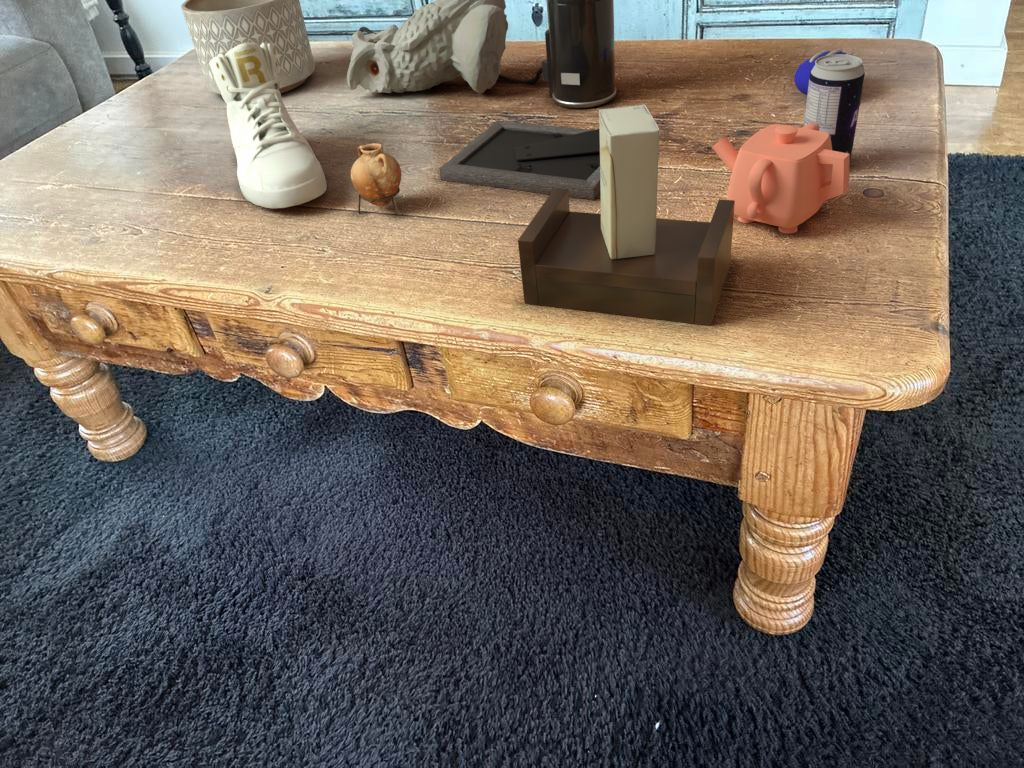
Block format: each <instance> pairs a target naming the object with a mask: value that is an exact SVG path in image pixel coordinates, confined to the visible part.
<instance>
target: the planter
mask: <svg viewBox="0 0 1024 768" xmlns="http://www.w3.org/2000/svg"><path fill="white" fill-rule="evenodd" d="M180 8H181V10H182V14H183V17H184V20H185V23H186V27H187V29H188V33H189V35H190V37H191V42H192V43H193V48H194V50H195V53H196V56H197V57H196V58H197V60H198V63H199V66H200V69H201V72H202V76H203V78H204V81H205V85H206V87H207V89H208V90H209V91H210V92H211V93H213V94H217V95H221V92H220V90H219V88H218V86H217V84H216V81H215V78H214V74H213V72H212V70H211V67H210V64H209V62H210V60H211V59H213V58H214V57H215V56H217V55H218V54H220V53H222V52H225V51H229V50H230V49H232V48H234V47H236V46H238V45H239V44H244V43H245V42H246V43H248V42H249V43H257V44H258V45H259V46H260V45H261V44H262V43H265V44H266V45H267V46H268V43H270V44H272V45H273V49H274V52H275V56H276V59H277V62H278V67H279V75H280V87H279V91H280V93H281V94H283V93H286V92H289V91H291V90H293V89H296V88H297V87H299V86H301V85H302V84H304V83H305V82H306V80H307V79H308V77H309V76H311V75H312V74H313V73H314V71H315V69H316V63H315V60H314V56H313V55H314V54H313V52H312V48H311V43H310V39H309V35H308V31H307V26H306V23H305V18H304V14H303V10H302V6H301V1H300V0H185V1H183V3H182V4H181V5H180Z"/></svg>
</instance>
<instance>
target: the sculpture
mask: <svg viewBox="0 0 1024 768" xmlns="http://www.w3.org/2000/svg"><path fill="white" fill-rule="evenodd" d="M506 8H507V5H506V0H434V1H432V2H429V3H427V4H424V5H421V6H420V7H419V9H416V10H415V11H414V13H413V14H412V16H409V17H408V18H406V20H405V22H402V24H401V25H400V26H399V27H398V26H397V25H396V24H392V25H391V26H388V27H387V28H386V29H383V30H380V31H379V32H377V33H376V32H374V33H371V34H368V33H367V34H365V33H364V31H363V32H362V31H359V30H357V31H356V32H354V33H353V34H352V35H351V42H352V44H353V47H354V48H353V49H352V52H351V56H350V58H349V59H350V62H349V65H348V69H347V73H346V78H345V79H346V83H347V87H348V89H350V90H351V91H352V90H356V89H357V87H358V86H359V85H360V87H361V88H362V89H364V90H368V91H370V92H371V93H372V94H380V93H386V94H392V93H393V92H394V93H396V94H397V93H398V94H404V93H405V92H416V91H419V92H421V91H422V92H423V91H425V90H431V89H432V88H433V87H434V86H435V87H436V86H439V85H440V84H443V83H445V82H447V81H449V82H450V81H454V80H456V79H457V78H458V77H459V76H461V78H463V80H464V81H465V82H467V83H468V85H469V86H470V87H471V89H472V90H473V91H474V92H475V93H478V94H483V93H485V92H486V91H487V89H488V90H491V89H492V87H493V86H495V85H496V83H497V80H498V79H497V78H498V77H499V74H500V73H501V60H502V57H503V56H504V52H505V50H506V39H507V33H508V30H509V22H508V20H507V16H508V15H507V14H505V10H506ZM375 33H376V34H375Z"/></svg>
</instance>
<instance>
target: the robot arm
mask: <svg viewBox="0 0 1024 768" xmlns="http://www.w3.org/2000/svg"><path fill="white" fill-rule="evenodd" d="M614 4H615V3H614V0H546V8H547V19H548V20H547V23H548V28H547V29H546V30H545V32H544V39H545V53H546V59H543V60H542V61H541V67H539V68H538V70H537V71H536V73H535V76H534V77H532V78H529V79H519V78H518V79H517V78H514V77H510V76H506V75H503V74H500V73H499V77H498V78H497V80H500V81H503V82H506V83H511V84H522V85H533V84H536V83H537V82H539V81H540V79H541V76H542V81H544V82H548V93H549V94H548V95H549V98H552V102H553V103H554V104H556V105H557V106H560V107H564V108H568V109H586V108H587V109H589V108H594V107H599V106H602V105H606V104H607V103H609V102H611V101H613V100H614V99H616V96H617V87H616V55H615V54H616V50H615V49H616V47H615V46H616V45H615V9H614ZM358 31H362V32H363V33H364V32H365V33H367V34H371V33H375V34H377V33H376V32H373V31H372V29H370V28H368V27H366V26H361V27H360V28H359V29H358Z"/></svg>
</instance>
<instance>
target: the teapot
mask: <svg viewBox="0 0 1024 768" xmlns="http://www.w3.org/2000/svg"><path fill="white" fill-rule="evenodd" d="M711 148H712V150H713V151H714V152H715V153H716V154H717V156H718V157H719V158H720V159H721V161H722V162H723V163H724V165H725V166H726V167H727V169H729V171H730V174H731V175H730V179H729V183H728V189H727V196H726V197H727V198H726V200H734V201H735V206H734V216H736V217H737V221H738V222H740V223H743V224H750V223H754V222H757V223H762V224H765V225H770V226H776V227H778V231H779V232H780V233H782V234H795V233H796V232H798V226H799V225H801V224H803V223H804V222H805V221H807V220H808V219H810V218H811V217H812V216H814V215H815V214H817V213H818V211H819V210H820V209H821V207H822V206H823V204H825V201H828V200H830V199H833V198H836V197H839V196H842V195H844V194H845V193H846V192H847V191H848V190H849V189H850V162H851V160H850V154H848V153H843V152H838V151H832V145H831V138H830V135H829V134H828V133H826V132H822V131H819V125H818V124H816V123H809V124H806V125H805V126H804V125H803V126H802V127H800V126H794V125H790V124H780V123H772V124H770V125H767V126H765V127H764V128H762V129H760V130H759V131H757V132H755V133H754V134H753V135H751V136H750V137H749V138H748V139H747V140H746V141H745V142H744V143H743V144H742V145H741V146H740V148H739V150H737V149H736V147H734V145H733V143H731V141H730V140H729V139H728V138H727V136H724V137H722V138H721V139H719V140H718V141H717V142H715V143H714V144H713V145H712V146H711ZM849 161H850V162H849Z"/></svg>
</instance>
